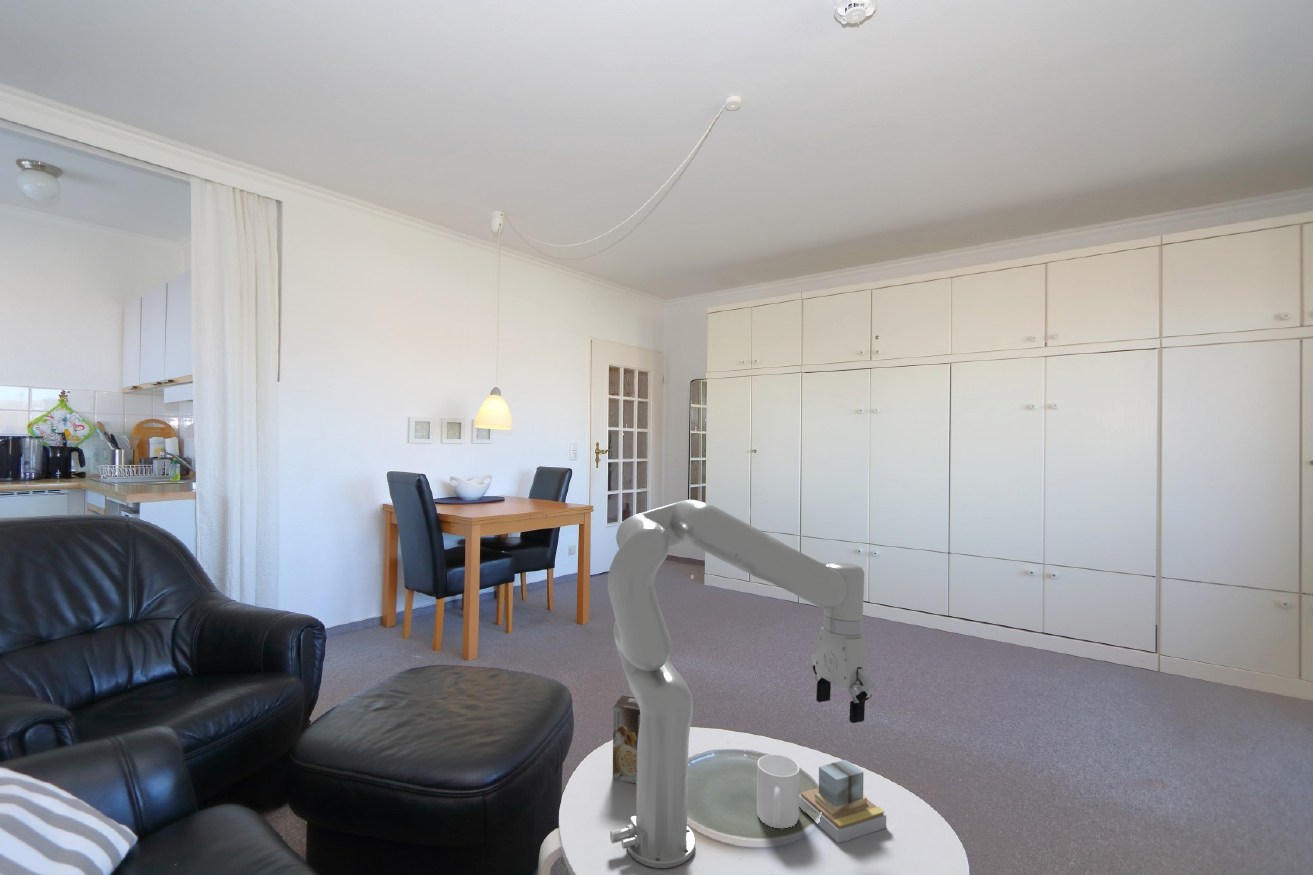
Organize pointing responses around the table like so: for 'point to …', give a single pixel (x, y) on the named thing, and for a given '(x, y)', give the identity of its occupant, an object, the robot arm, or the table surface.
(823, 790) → the banded blue box
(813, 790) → the dock
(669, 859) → the robot arm
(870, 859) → the table surface
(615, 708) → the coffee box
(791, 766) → the mug
